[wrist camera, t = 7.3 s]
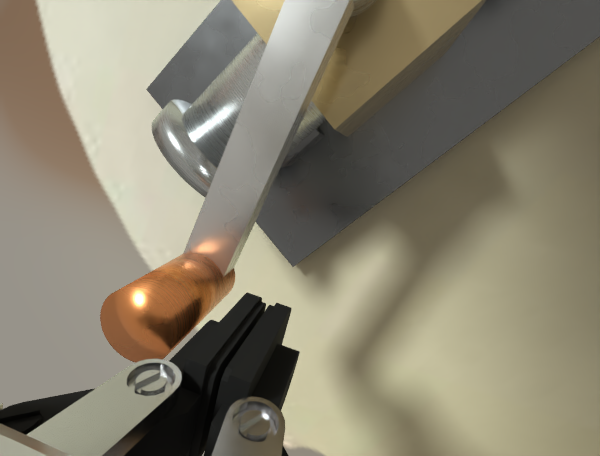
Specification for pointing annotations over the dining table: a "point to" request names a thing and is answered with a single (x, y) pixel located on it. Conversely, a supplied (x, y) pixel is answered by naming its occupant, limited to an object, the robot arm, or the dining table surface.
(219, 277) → the lever
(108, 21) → the dining table surface
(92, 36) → the dining table surface
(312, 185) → the valve body
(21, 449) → the robot arm
